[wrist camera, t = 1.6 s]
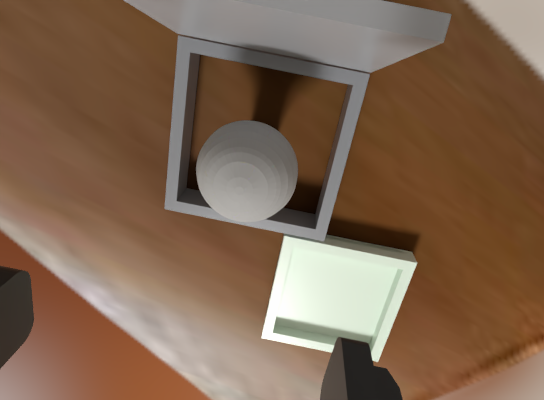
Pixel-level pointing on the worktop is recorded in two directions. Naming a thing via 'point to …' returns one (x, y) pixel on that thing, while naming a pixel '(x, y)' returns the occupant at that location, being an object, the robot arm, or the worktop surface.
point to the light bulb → (247, 171)
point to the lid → (308, 27)
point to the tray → (336, 292)
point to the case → (182, 128)
